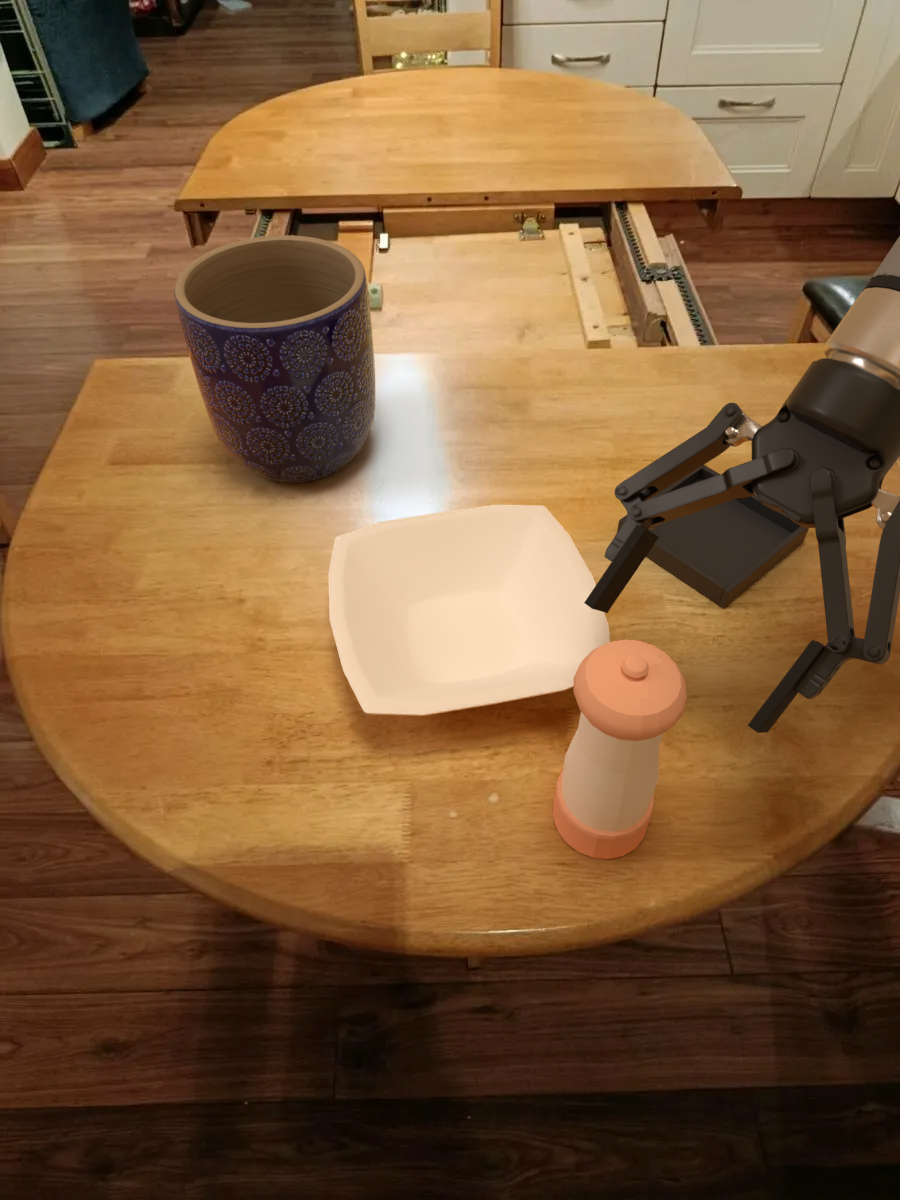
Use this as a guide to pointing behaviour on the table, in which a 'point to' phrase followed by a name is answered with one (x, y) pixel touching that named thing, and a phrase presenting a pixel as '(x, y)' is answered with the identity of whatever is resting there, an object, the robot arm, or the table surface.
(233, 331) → the planter
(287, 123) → the table surface
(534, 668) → the bowl
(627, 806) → the pepper shaker
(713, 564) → the tray
